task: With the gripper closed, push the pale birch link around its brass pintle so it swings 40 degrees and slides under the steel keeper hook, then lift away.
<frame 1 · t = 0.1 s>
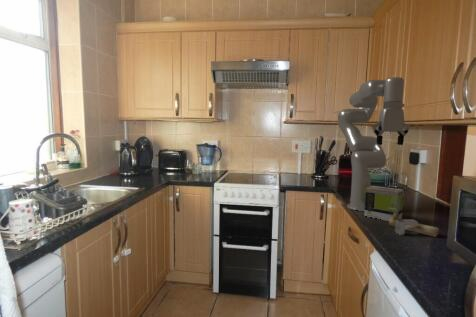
hand: (389, 144, 130), 37 cm above the worktop, tool pointing down, fingers open, 9 cm apart
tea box: (382, 218, 143), on the worktop
pivot link: (412, 223, 126), point 3 cm above the worktop, hinge at 40.0°
keeper hook: (399, 233, 122), on the worktop
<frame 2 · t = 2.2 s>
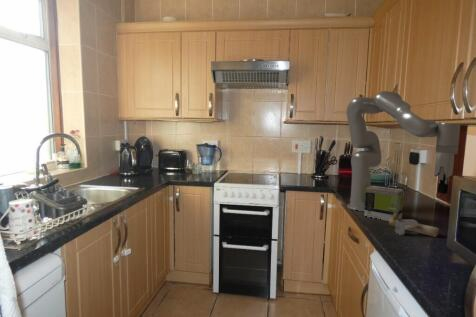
hand: (442, 192, 123), 17 cm above the worktop, tool pointing down, fingers closed
nothing on the worktop moved.
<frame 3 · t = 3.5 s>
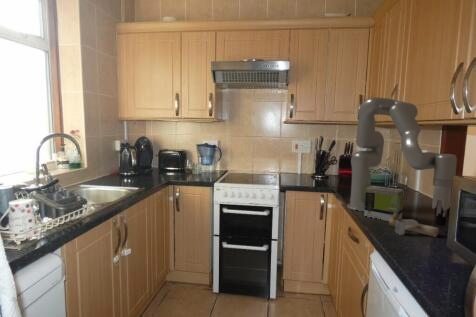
hand: (440, 224, 124), 3 cm above the worktop, tool pointing down, fingers closed
nothing on the worktop moved.
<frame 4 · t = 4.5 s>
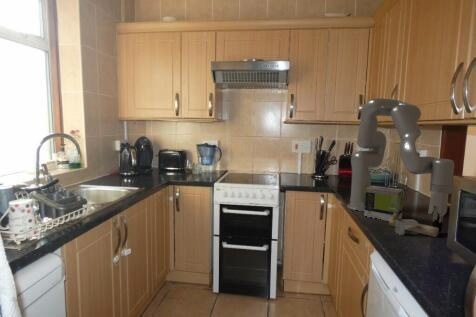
hand: (436, 230, 122), 1 cm above the worktop, tool pointing down, fingers closed
pivot link: (412, 223, 126), point 3 cm above the worktop, hinge at 40.0°, touching gripper
everything else where it was.
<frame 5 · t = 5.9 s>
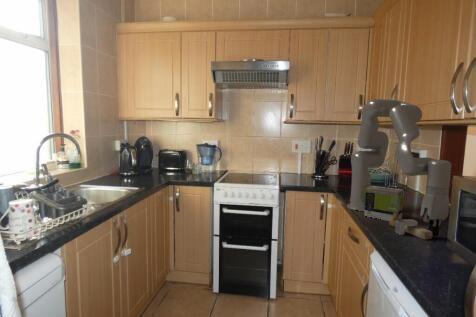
hand: (433, 234, 118), 1 cm above the worktop, tool pointing down, fingers closed
pivot link: (408, 224, 124), point 3 cm above the worktop, hinge at 15.0°, touching gripper
everything else where it was.
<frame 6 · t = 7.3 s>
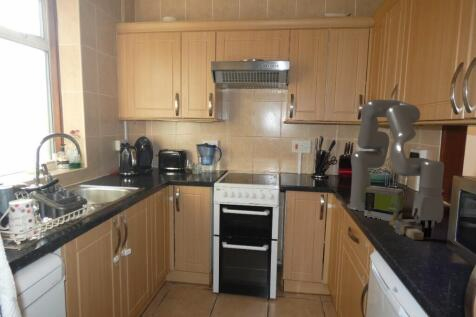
hand: (426, 236, 116), 1 cm above the worktop, tool pointing down, fingers closed
pivot link: (404, 224, 124), point 3 cm above the worktop, hinge at -1.2°, touching gripper
everything else where it was.
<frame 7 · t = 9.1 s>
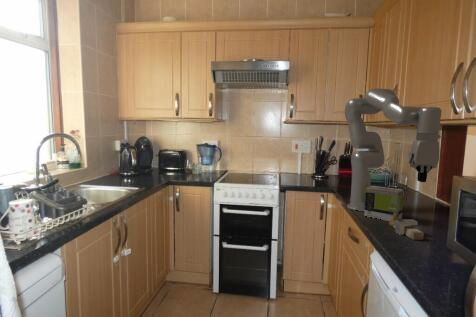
hand: (421, 181, 121), 22 cm above the worktop, tool pointing down, fingers closed
pivot link: (404, 224, 124), point 3 cm above the worktop, hinge at -1.3°
everything else where it was.
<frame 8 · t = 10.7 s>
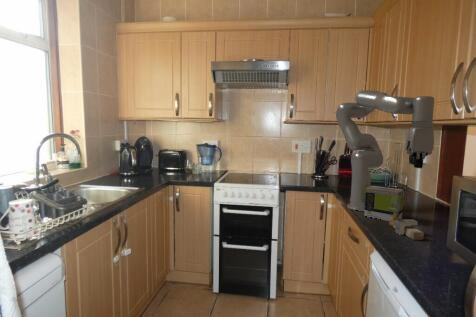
hand: (418, 167, 126), 27 cm above the worktop, tool pointing down, fingers closed
nothing on the worktop moved.
at the end: pivot link at -1° (first picture: +40°); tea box moved 0.3 cm from its start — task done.
